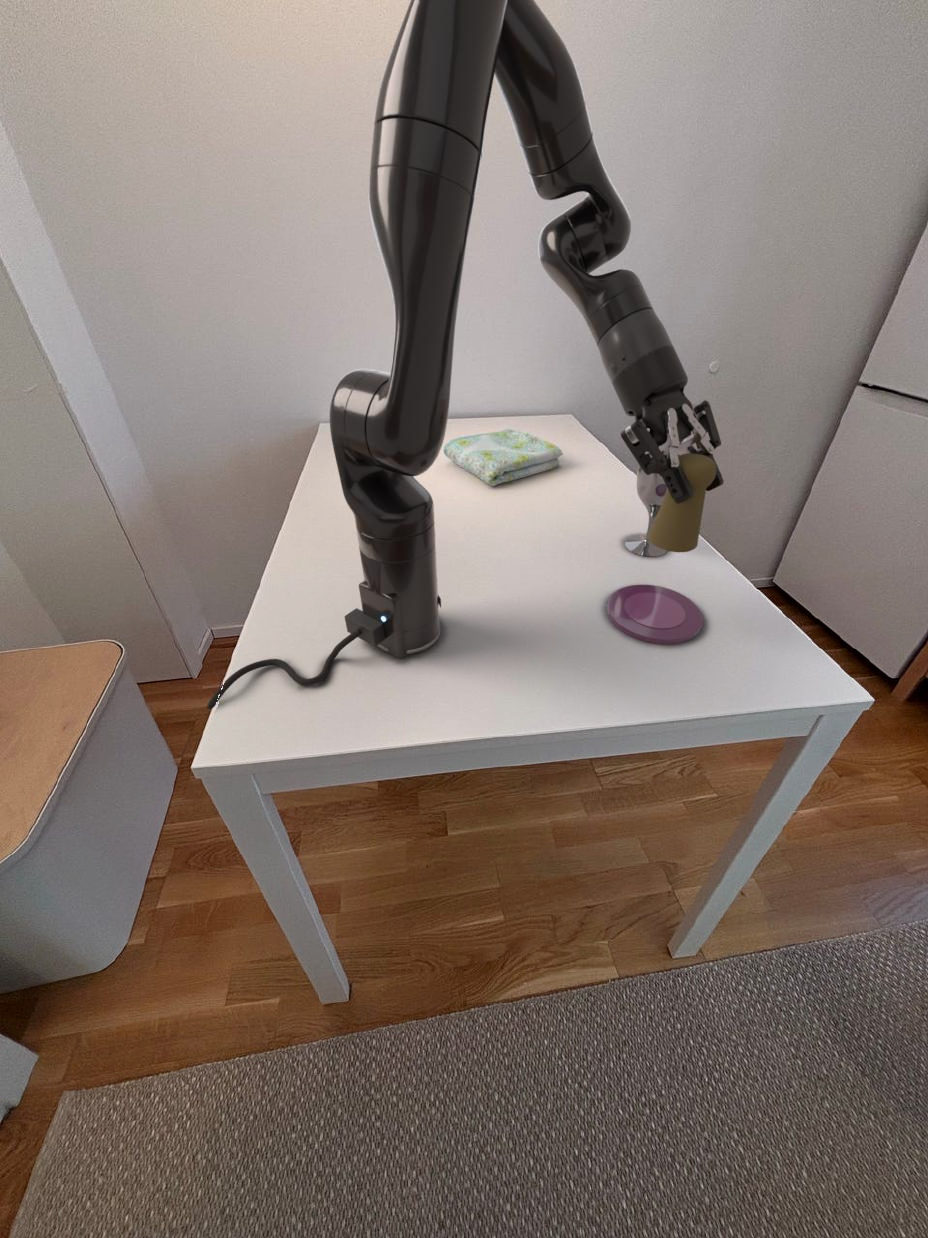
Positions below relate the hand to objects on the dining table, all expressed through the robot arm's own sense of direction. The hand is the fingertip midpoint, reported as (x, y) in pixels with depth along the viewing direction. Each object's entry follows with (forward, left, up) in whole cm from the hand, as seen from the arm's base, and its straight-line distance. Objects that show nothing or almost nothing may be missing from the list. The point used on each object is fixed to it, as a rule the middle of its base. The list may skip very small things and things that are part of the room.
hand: (700, 493), depth 61 cm
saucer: (+1, +2, -19) cm, 19 cm away
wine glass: (+19, +10, -19) cm, 29 cm away
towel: (+35, +50, -19) cm, 63 cm away
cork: (+1, +2, -7) cm, 8 cm away
